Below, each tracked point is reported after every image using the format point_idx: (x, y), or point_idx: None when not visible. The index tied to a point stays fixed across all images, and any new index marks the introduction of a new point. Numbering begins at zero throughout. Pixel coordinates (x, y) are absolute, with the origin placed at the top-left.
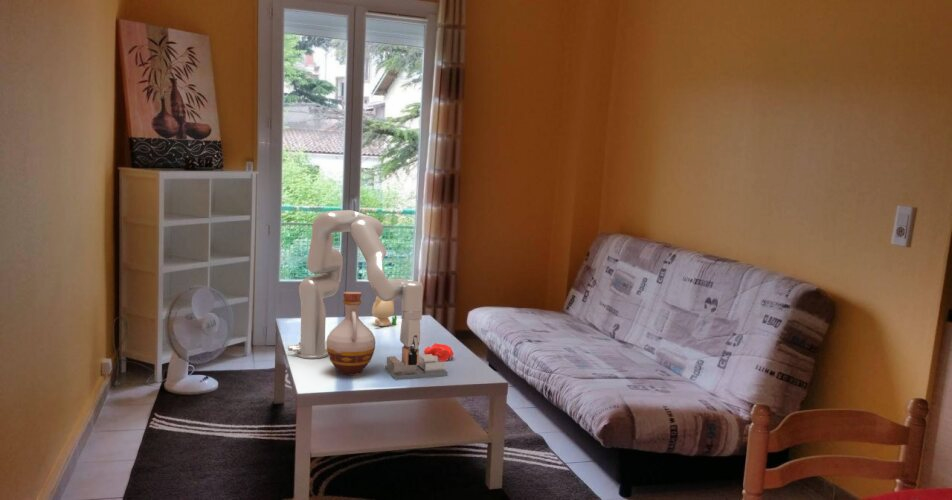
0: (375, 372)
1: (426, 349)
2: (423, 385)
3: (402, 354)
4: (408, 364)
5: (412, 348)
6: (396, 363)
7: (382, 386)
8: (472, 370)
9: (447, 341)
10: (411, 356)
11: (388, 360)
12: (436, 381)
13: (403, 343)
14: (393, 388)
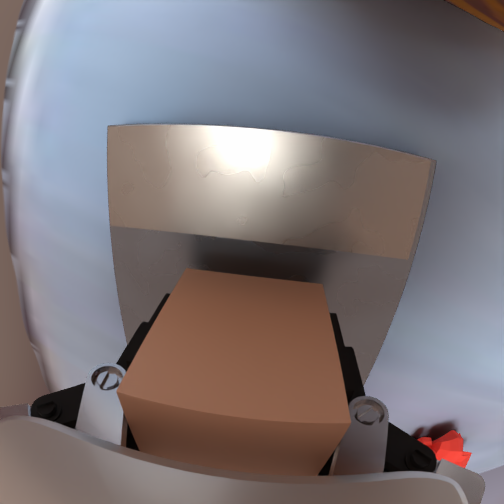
0: (369, 50)
1: (450, 452)
2: (27, 250)
3: (308, 338)
4: (167, 293)
5: (188, 462)
6: (108, 155)
7: (53, 25)
8: None
9: (486, 466)
10: (118, 363)
11: (356, 142)
12: (77, 333)
13: (207, 487)
14: (13, 82)
